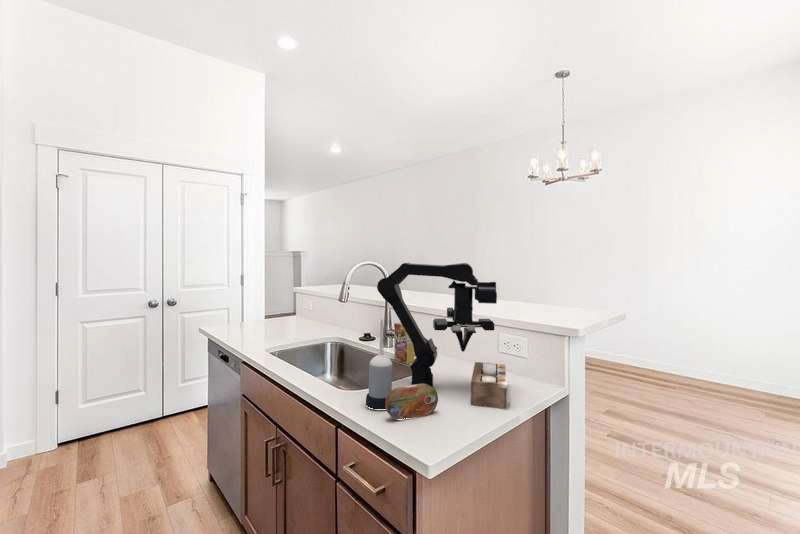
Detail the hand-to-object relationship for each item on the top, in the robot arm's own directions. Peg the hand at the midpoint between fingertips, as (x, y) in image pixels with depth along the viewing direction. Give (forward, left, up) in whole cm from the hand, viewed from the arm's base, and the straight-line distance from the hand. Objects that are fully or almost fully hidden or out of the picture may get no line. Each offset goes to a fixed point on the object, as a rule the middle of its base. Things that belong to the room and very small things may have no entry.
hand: (462, 351), depth 120 cm
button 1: (+6, -9, -10) cm, 15 cm away
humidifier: (-26, -11, -13) cm, 31 cm away
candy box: (-18, +33, -13) cm, 40 cm away
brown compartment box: (+8, -3, -13) cm, 15 cm away
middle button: (+8, -3, -8) cm, 12 cm away
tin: (-17, -18, -13) cm, 28 cm away
